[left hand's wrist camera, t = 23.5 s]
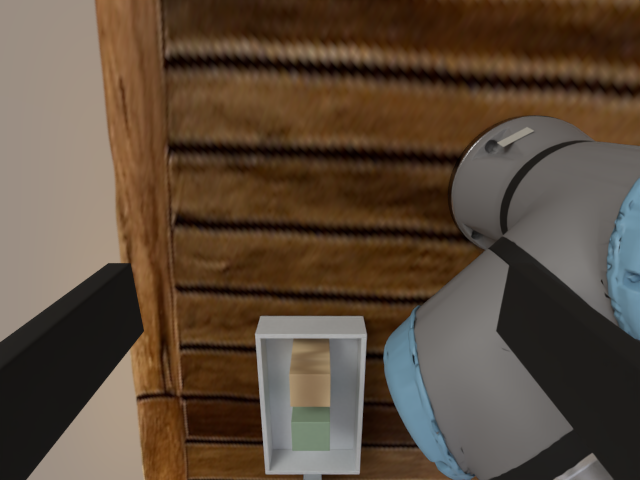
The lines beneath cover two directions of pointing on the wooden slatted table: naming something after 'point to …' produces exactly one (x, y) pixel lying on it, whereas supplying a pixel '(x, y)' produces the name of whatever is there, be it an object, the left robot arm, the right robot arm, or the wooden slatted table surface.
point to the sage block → (310, 428)
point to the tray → (344, 393)
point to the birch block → (310, 373)
